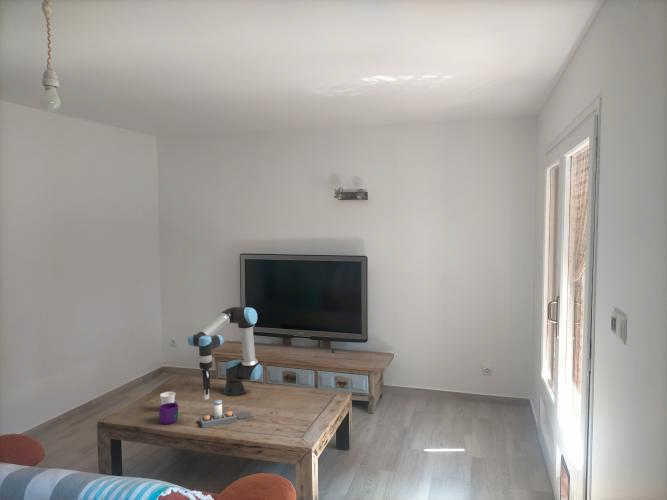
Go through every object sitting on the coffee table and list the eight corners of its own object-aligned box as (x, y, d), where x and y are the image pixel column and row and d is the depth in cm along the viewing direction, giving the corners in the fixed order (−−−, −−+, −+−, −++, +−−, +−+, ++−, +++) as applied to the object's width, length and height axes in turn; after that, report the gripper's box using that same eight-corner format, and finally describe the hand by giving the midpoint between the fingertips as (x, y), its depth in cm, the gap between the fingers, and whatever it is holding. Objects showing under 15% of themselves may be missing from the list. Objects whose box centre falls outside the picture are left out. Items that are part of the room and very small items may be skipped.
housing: (232, 415, 311) (232, 411, 311) (236, 421, 301) (236, 417, 301) (199, 421, 302) (199, 416, 302) (202, 427, 292) (202, 423, 292)
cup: (170, 413, 315) (170, 397, 315) (157, 412, 317) (156, 396, 317) (178, 408, 325) (178, 392, 324) (165, 407, 327) (164, 391, 326)
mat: (248, 412, 317) (248, 411, 317) (252, 417, 309) (252, 416, 309) (235, 414, 313) (235, 414, 313) (238, 419, 305) (238, 418, 305)
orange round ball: (209, 419, 301) (209, 414, 301) (210, 421, 298) (210, 416, 298) (203, 420, 299) (203, 415, 299) (204, 422, 296) (204, 417, 296)
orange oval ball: (231, 415, 307) (231, 410, 307) (232, 417, 304) (232, 412, 304) (225, 416, 305) (225, 411, 305) (227, 418, 302) (227, 413, 302)
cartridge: (221, 418, 305) (221, 399, 305) (223, 421, 300) (222, 401, 300) (213, 420, 303) (212, 400, 302) (214, 423, 298) (214, 403, 298)
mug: (173, 425, 296) (172, 409, 296) (155, 424, 298) (155, 408, 298) (186, 414, 314) (185, 399, 313) (169, 413, 315) (169, 398, 315)
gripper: (197, 359, 301) (198, 396, 303) (201, 365, 289) (202, 403, 291) (209, 357, 304) (210, 394, 306) (214, 363, 293) (215, 401, 294)
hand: (206, 398), depth 298 cm, fingers closed
